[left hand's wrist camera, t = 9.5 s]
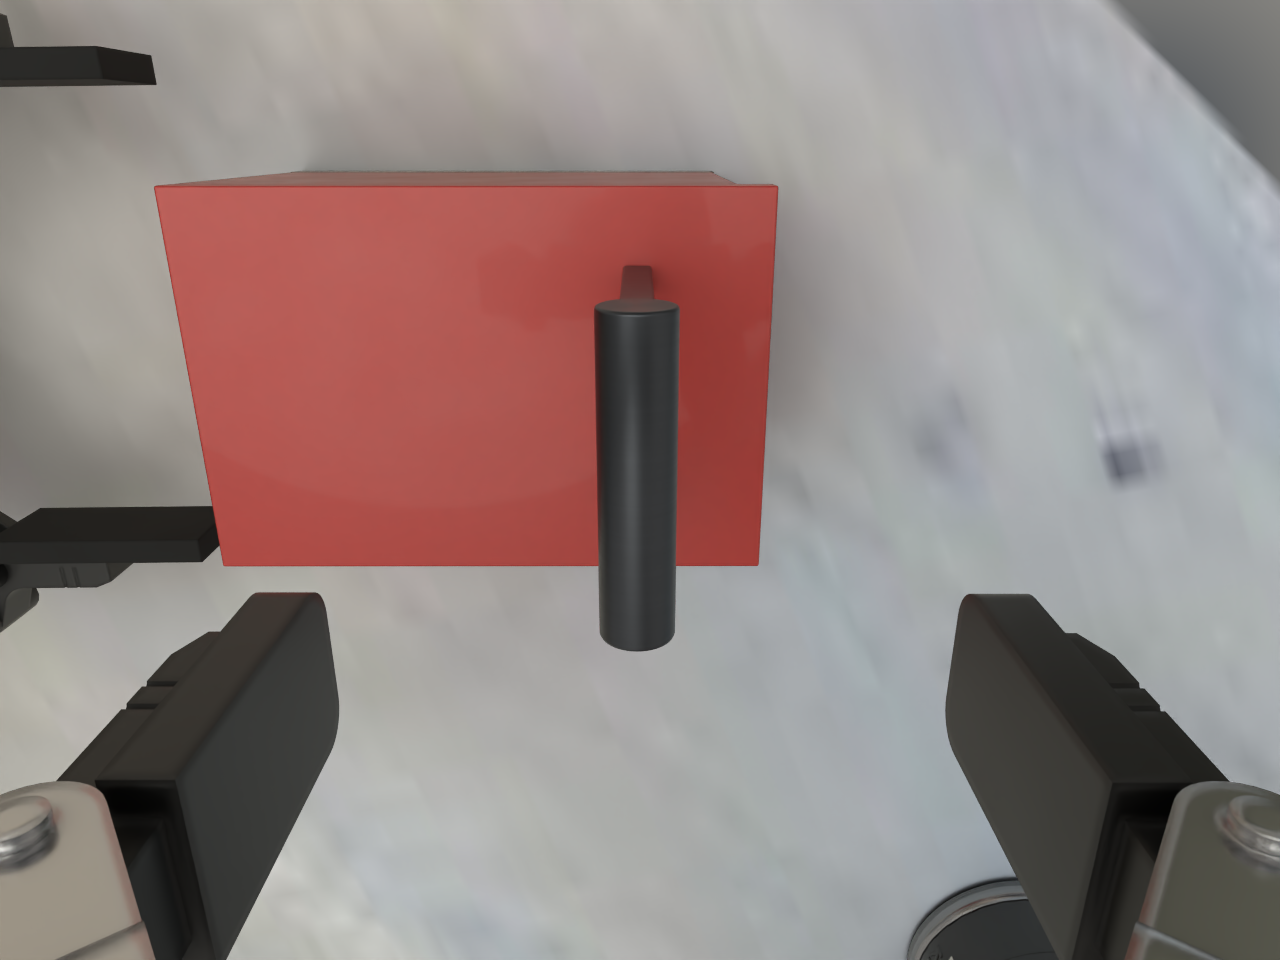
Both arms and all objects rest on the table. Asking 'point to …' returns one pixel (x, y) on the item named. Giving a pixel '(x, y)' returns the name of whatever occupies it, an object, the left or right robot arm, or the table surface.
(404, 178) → the chest
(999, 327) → the table surface
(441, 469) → the lid
